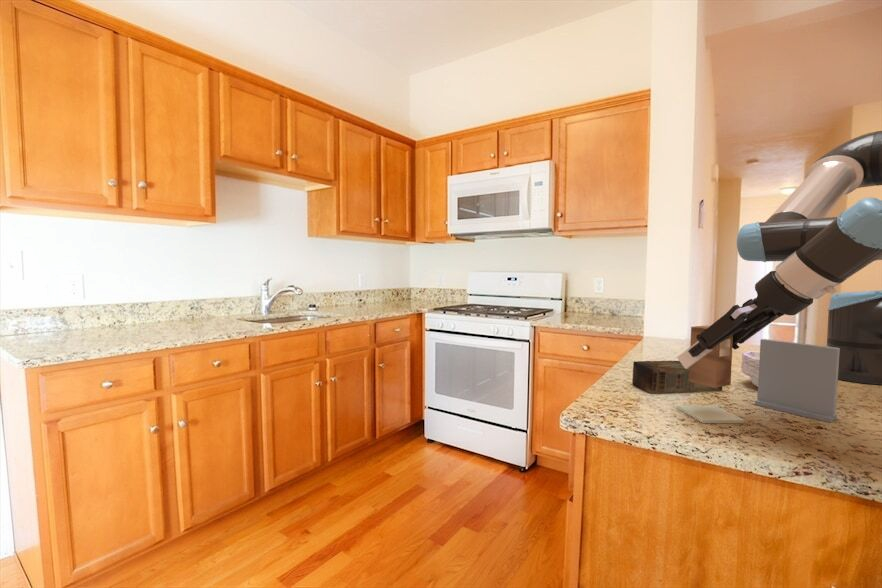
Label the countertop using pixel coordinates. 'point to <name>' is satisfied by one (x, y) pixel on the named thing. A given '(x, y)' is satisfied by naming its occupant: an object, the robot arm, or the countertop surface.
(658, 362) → the beverage carton
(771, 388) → the slate panel
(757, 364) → the paper bowls
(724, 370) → the brown tall rectangular block
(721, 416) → the sage tile
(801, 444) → the countertop surface
